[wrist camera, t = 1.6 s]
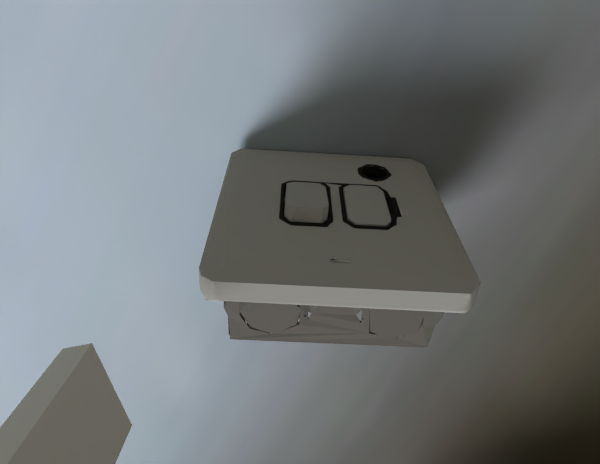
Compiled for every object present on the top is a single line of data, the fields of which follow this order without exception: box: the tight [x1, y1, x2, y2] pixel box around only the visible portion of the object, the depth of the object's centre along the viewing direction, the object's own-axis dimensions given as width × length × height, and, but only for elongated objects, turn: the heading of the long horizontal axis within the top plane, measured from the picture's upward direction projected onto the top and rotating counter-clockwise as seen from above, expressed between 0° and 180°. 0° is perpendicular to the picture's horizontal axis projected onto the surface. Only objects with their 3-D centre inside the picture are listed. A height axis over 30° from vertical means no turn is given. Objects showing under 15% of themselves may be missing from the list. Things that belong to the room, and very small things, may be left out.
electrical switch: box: [199, 149, 481, 347], centre depth 18 cm, size 9×5×9 cm, turn 86°
